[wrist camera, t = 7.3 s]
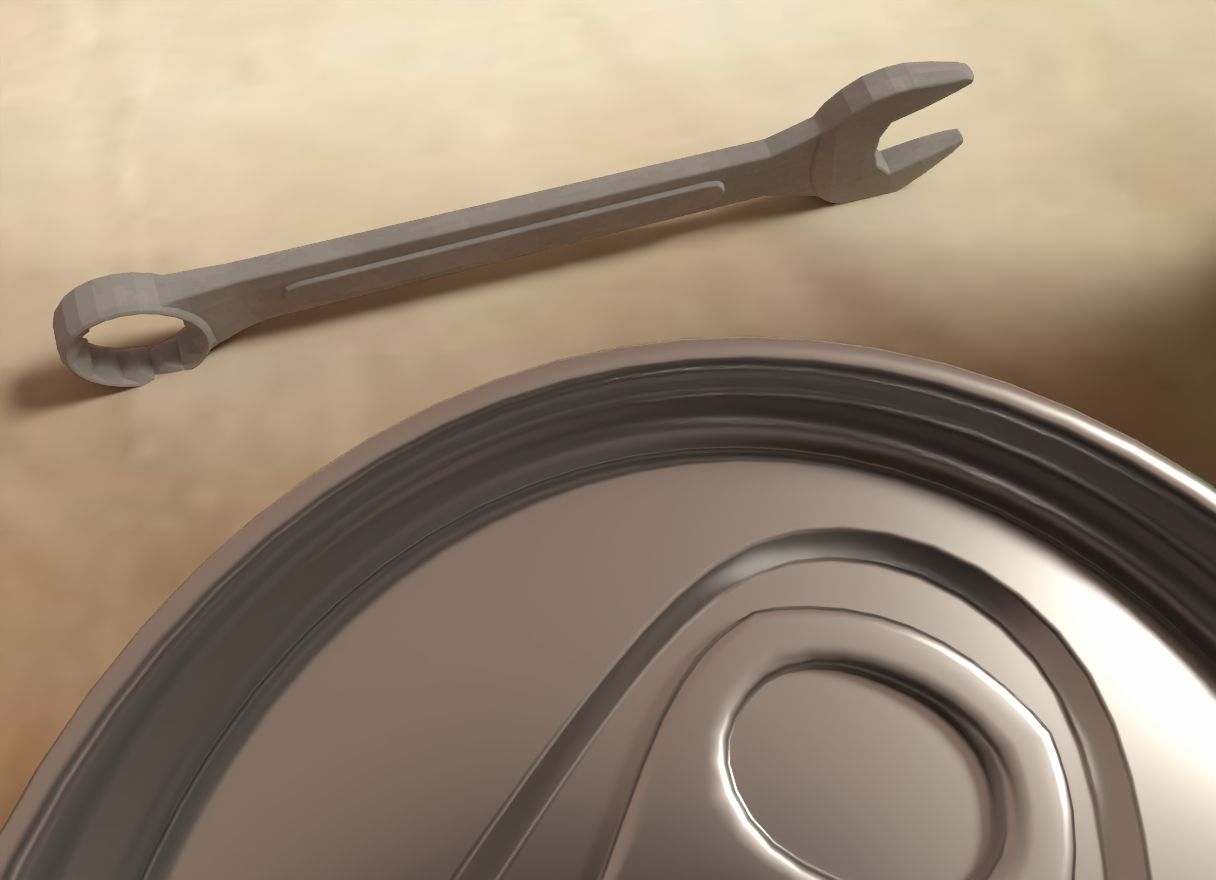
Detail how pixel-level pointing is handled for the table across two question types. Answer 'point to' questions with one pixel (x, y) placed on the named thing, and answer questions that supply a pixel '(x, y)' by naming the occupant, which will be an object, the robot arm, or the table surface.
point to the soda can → (675, 645)
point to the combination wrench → (515, 226)
